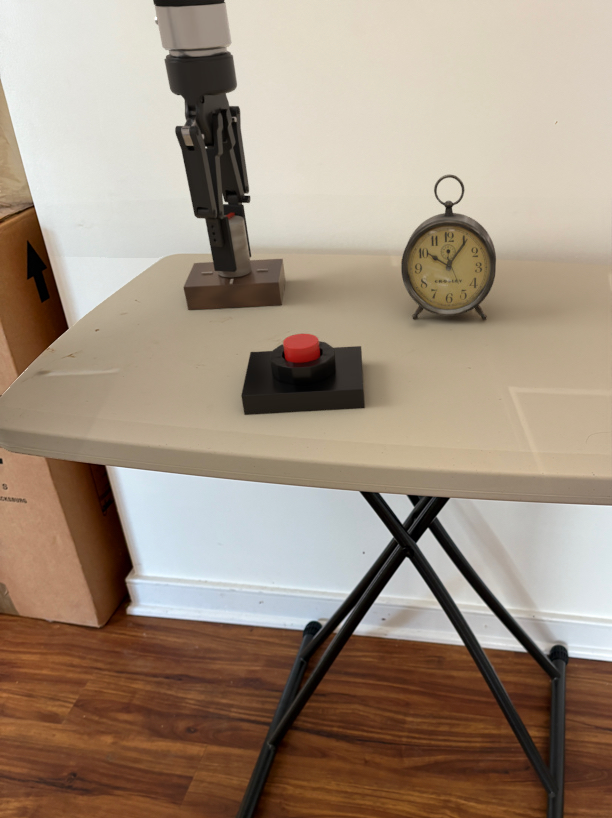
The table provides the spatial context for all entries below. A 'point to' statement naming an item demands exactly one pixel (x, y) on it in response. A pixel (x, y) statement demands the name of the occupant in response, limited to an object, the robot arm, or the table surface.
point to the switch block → (304, 381)
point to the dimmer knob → (238, 247)
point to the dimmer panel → (235, 286)
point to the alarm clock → (449, 262)
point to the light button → (301, 348)
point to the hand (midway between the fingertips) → (233, 263)
